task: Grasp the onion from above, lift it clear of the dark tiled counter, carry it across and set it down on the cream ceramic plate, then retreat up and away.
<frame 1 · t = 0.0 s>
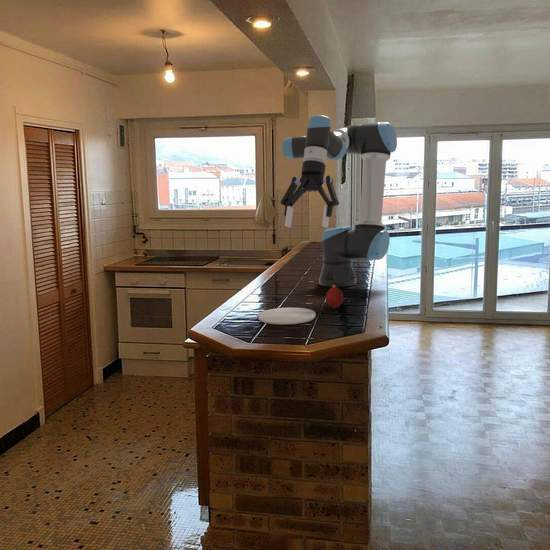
hand: (305, 226, 190), 28 cm above the table, tool tilted 20°, fingers open, 13 cm apart
plate: (287, 317, 188), on the table
onion: (334, 308, 198), on the table
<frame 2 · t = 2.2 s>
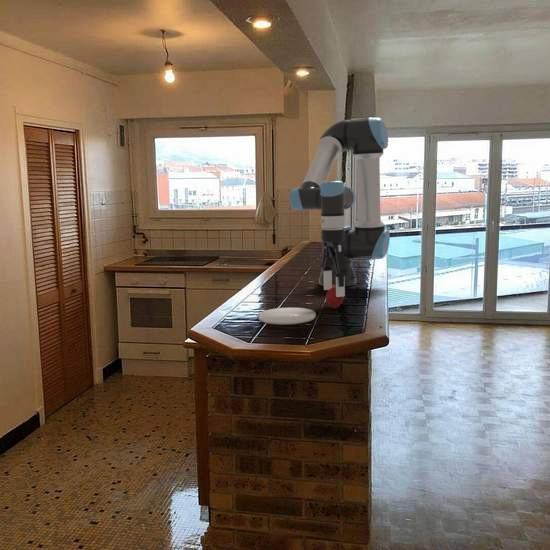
hand: (334, 293, 197), 5 cm above the table, tool pointing down, fingers open, 13 cm apart
nothing on the table moved.
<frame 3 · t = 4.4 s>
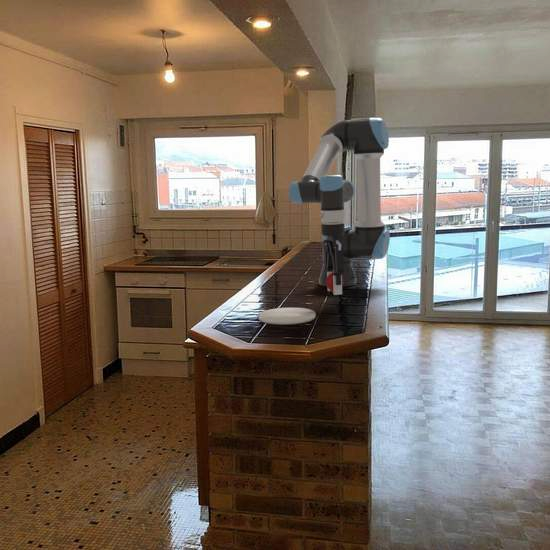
hand: (334, 292, 198), 5 cm above the table, tool pointing down, fingers closed on onion, 6 cm apart
onion: (335, 293, 198), point 5 cm above the table, touching gripper
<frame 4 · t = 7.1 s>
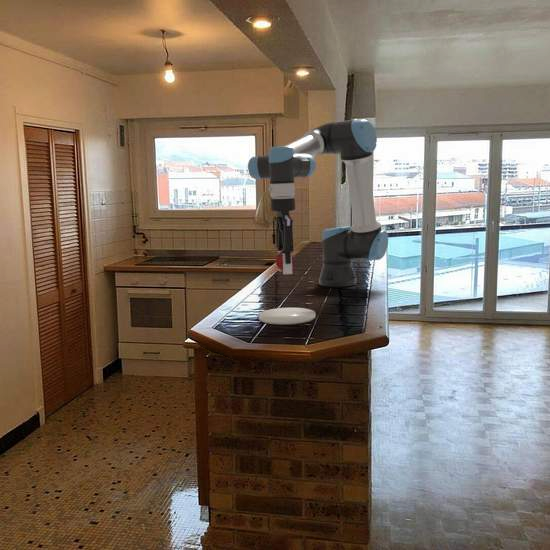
hand: (285, 272, 185), 14 cm above the table, tool pointing down, fingers closed on onion, 6 cm apart
onion: (285, 273, 186), point 14 cm above the table, touching gripper
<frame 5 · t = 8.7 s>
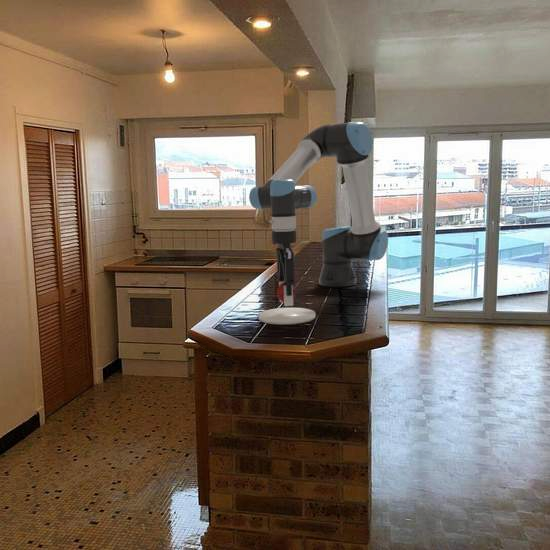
hand: (286, 303, 187), 5 cm above the table, tool pointing down, fingers closed on onion, 6 cm apart
onion: (286, 304, 187), point 4 cm above the table, touching gripper
when the fingers open (2 cm above the table, at t = 9.9 s): onion stays where it is, resting on plate.
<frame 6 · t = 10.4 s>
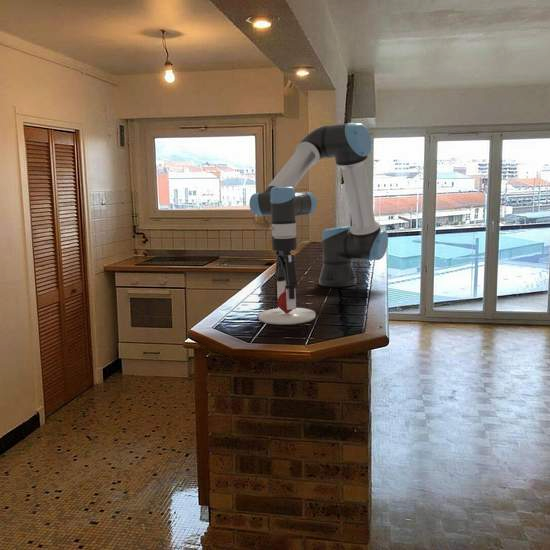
hand: (286, 305, 187), 4 cm above the table, tool pointing down, fingers open, 12 cm apart
onion: (287, 313, 188), point 1 cm above the table, touching plate
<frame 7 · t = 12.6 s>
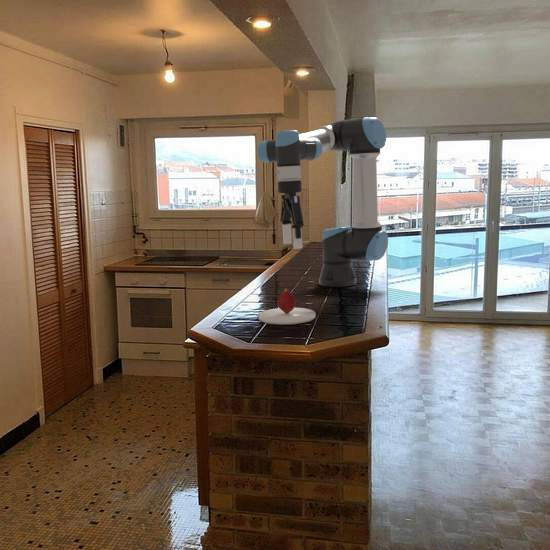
hand: (292, 246, 193), 22 cm above the table, tool pointing down, fingers open, 13 cm apart
nothing on the table moved.
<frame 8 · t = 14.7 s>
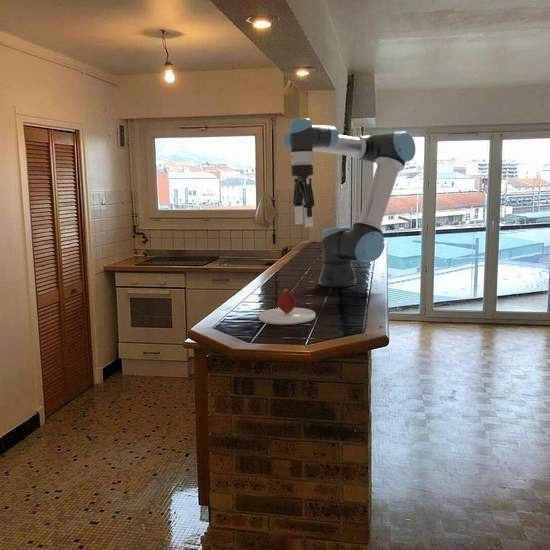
hand: (304, 225, 210), 27 cm above the table, tool pointing down, fingers open, 13 cm apart
nothing on the table moved.
at the end: onion inside the target area on the plate (0.2 cm from its centre), point 1.0 cm above the plate's base; onion touching plate; the gripper is holding nothing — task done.
